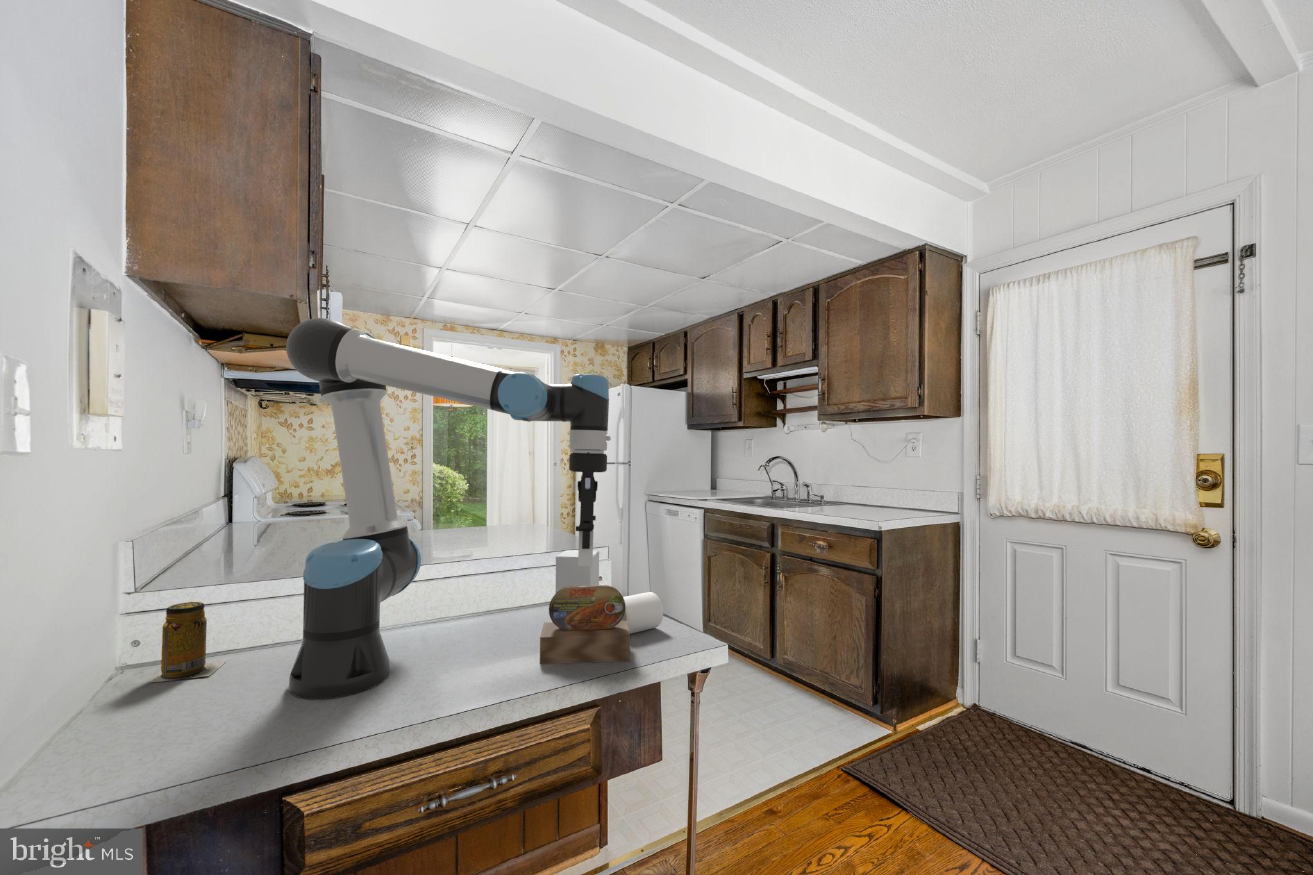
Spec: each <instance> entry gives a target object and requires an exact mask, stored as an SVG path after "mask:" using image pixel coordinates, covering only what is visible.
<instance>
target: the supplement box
mask: <svg viewBox="0 0 1313 875" xmlns="http://www.w3.org/2000/svg"><path fill="white" fill-rule="evenodd" d="M599 585H600V551H599V550H593V566H578V550H576V549H575V550H574V549H573V550H569V549H567V550H565V551H563V552H561V553H559V554H557V555H556V556H555V594H556V593H557V592H558V591H559V590H560V589H562V588H564V587H569V586H599Z"/></svg>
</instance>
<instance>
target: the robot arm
mask: <svg viewBox="0 0 1313 875" xmlns="http://www.w3.org/2000/svg"><path fill="white" fill-rule="evenodd" d="M285 346H286V347H285V348H286V350H285V351H286V355H287V358H288V360H289V361H290V364H291V365H292V367H293V368H294V369H295V370H296V371H297V372H298V373H299V374H301V375H302V376H304V377H306V378H308V379H310V380H314V381H316V382H318V385H319V391H320V395H321V399H322V400H323V401H324V402H326V403H327V404H329V406H331V410H332V411H331V412H332V417H333V424H334V431H335V438H336V442H337V448H338V449H337V450H338V457H339V462H340V470H341V476H342V483H343V484H342V485H343V489H344V495H345V496H344V497H345V502H346V509H347V515H348V522H349V526H348V529H347V530H346V531H345V533H344V534H343V536H342V540H338V541H336V542H334V541H333V542H328V543H324V544H322V545H319V546H318V547H317V546H316V548H314V549H312V550H311V551H310V552H309V553H308V554H307V556H306V558H305V565H304V569H303V573H302V574H303V575H302V578H303V613H302V614H303V616H302V617H303V619H302V620H303V622H302V624H303V625H302V629H303V630H302V642H301V645H300V648H299V650H298V652H297V654H296V657H295V660H294V662H293V666H292V668H291V671H290V674H289V678H288V679H289V680H288V681H289V684H288V690H289V693H290V694H291V695H294V696H295V697H298V698H302V699H308V700H309V699H310V700H312V699H315V700H318V699H319V700H320V699H333V698H339V697H344V696H349V695H353V694H356V693H361V692H363V691H367V690H369V689H371V688H373V687H375V686H377V685H379V684H381V683H382V682H384V681H385V680H386V679H387V678H388V677H389V675H390V664H391V662H390V657H389V655H388V651H387V649H386V646H385V643H384V640H383V637H382V634H381V630H380V625H381V624H380V623H381V622H380V616H381V615H380V614H381V603H382V602H384V601H386V600H387V599H389V598H391V597H393V596H396V595H398V594H400V593H402V592H403V591H404V590H406V589H407V587H409V586H410V585H411V583H413V582H414V580H415V579H416V578H417V576H418V574H419V572H420V569H421V564H422V555H421V551H420V549H419V546H418V544H417V543H416V542H415V541H413V540H412V538H410V537H409V536H410V535H409V531H408V530H409V529H408V525H407V523H406V522H404V521H402V520H401V519H400V518H399V517H398V512H397V505H396V498H395V492H394V484H393V480H392V479H393V478H392V472H391V466H390V459H389V458H390V457H389V453H388V448H387V446H388V445H387V438H386V433H385V427H384V420H383V414H382V408H381V401H382V400H383V398H385V396H386V395H387V393H388V392H387V386H388V387H392V388H396V389H399V390H404V391H408V392H412V393H417V394H422V395H424V396H425V395H426V396H430V397H435V398H439V399H443V400H448V401H452V402H454V403H455V402H457V403H461V404H465V405H469V406H473V407H478V408H483V409H486V410H490V411H494V412H498V413H503V414H507V415H509V416H510V419H512V420H514V421H522V422H529V423H530V422H564V423H566V422H568V423H569V424H570V425H569V426H570V429H569V446H568V447H569V448H568V449H570V451H572V452H571V453H570V454H569V455H568V456H569V457H568V458H569V460H568V462H569V463H568V465H569V466H568V469H569V471H570V472H573V473H582V474H581V476H580V480H577V492H578V495H577V496H578V498H577V499H578V502H579V503H580V509H579V510H580V512H579V524H578V525H576V526H575V532H578V549H577V551H578V566H593V551H594V528H595V523H594V521H597V516H596V515H594V511H595V510H594V506H595V504H594V503H595V502H596V500H597V491H598V486H599V485H598V480H596V479H595V475H594V474H595V473H606V472H607V470H608V468H607V467H608V455H607V453H605V452H606V451H607V450H608V442H610V441H611V439H612V438H611V435H608V431H609V430H608V429H609V412H610V411H609V410H610V409H609V407H610V394H609V393H610V391H609V390H610V388H609V386H610V383H609V379H608V378H607V377H606V376H605V375H600V374H595V373H578V374H577V373H576V374H573V375H572V377H571V381H570V383H567V384H565V383H564V384H559V383H558V384H557V383H556V384H555V383H545V382H543V381H542V380H541V379H540V378H538V377H537V376H536V375H534V374H531V373H529V372H528V373H527V372H523V371H519V372H518V371H517V372H516V371H512V370H511V371H510V370H506V369H503V368H500V367H499V368H498V367H495V366H490V365H487V364H481V363H479V362H478V363H477V362H473V361H469V360H465V359H460V358H457V357H454V356H453V357H451V356H449V355H444V354H439V353H435V352H431V351H427V350H423V349H419V348H415V347H414V348H413V347H409V346H407V345H401V344H398V343H392V342H388V341H384V340H381V339H377V338H376V337H374V336H373V335H371V334H370V333H369V332H365V331H363V330H361V329H358V328H354V327H350V326H348V325H346V324H343V323H342V322H339V321H336V320H333V319H329V318H324V317H315V318H309V319H306V320H304V321H302V322H300V323H298V324H297V325H296V326H295V327H294V328H293V329H292V330H291V331H290V333H289V335H288V337H287V341H286V345H285Z"/></svg>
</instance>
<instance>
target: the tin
mask: <svg viewBox="0 0 1313 875" xmlns="http://www.w3.org/2000/svg"><path fill="white" fill-rule="evenodd" d="M623 597H624V596H623V595H622V593H621V592H620V591H619V590H618V589H617V588H616V587H614V586H611V585H607V584H606V585H602V584H601V585H600V584H599V586H569V587H564V588H562V589H560V590H559V591H558V592H557V593H556V592H555V593H554V595H553V596H552V597H551V599H550V602H549V606H548V615H549V618H550V620H551V622H553V623H554V624H555V625H556V626H557V627H558V628H560V629H562V630H566V631H576V630H605V629H610V628H613V627H615V626H616V625H617V624H619V623H620V621H621V620H622V618H623V616H624V614H625V601H624V598H623Z"/></svg>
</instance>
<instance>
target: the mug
mask: <svg viewBox="0 0 1313 875" xmlns="http://www.w3.org/2000/svg"><path fill="white" fill-rule="evenodd" d="M623 598H624V601H625V614H624V616H623V618H622V620H621V621H627V624H628V629H629V633H630V635H631V634H635V633H639V632H643V631H648V630H652V629H656V628H658V627H659V626H661V624H662V622H663V619H664V606H663V603H662V601H661V599H660V597H659V596H658V594H656V593H655V592H652V591H647V592H643V593H642V592H641V593H636V594H631V595H628V596H623Z"/></svg>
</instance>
